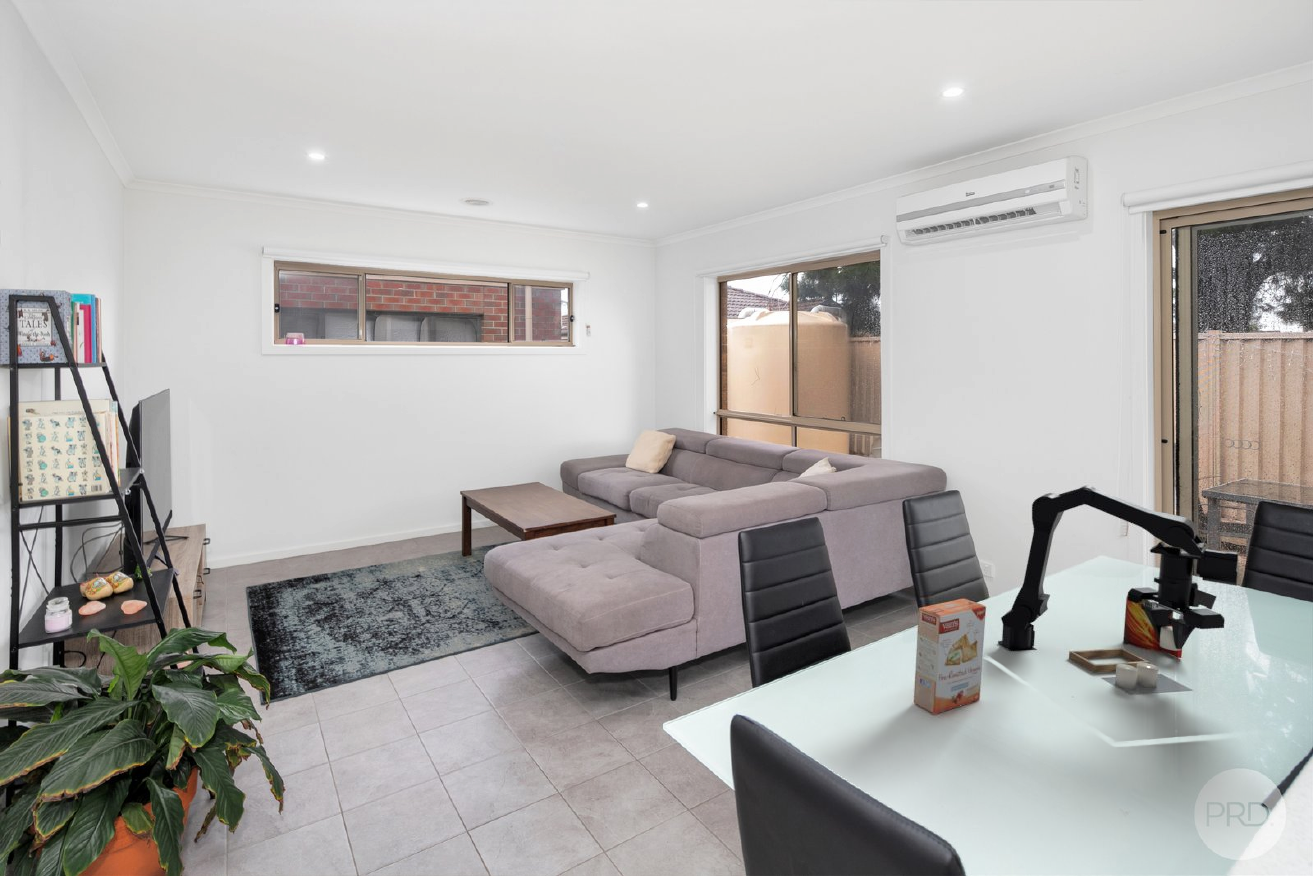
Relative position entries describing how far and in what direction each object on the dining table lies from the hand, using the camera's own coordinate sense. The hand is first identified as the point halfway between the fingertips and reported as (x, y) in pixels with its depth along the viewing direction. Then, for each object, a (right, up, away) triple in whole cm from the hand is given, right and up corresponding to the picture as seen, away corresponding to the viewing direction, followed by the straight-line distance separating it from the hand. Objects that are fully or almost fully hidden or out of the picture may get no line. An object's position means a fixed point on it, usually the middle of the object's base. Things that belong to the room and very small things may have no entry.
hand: (1170, 645), depth 149 cm
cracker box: (-52, -10, -6) cm, 53 cm away
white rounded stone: (-10, -9, 0) cm, 13 cm away
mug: (+12, -8, +21) cm, 26 cm away
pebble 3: (0, 0, 0) cm, 0 cm away
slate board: (-5, -9, 0) cm, 11 cm away
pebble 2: (-5, -9, 0) cm, 10 cm away
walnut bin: (-7, -8, +11) cm, 15 cm away
